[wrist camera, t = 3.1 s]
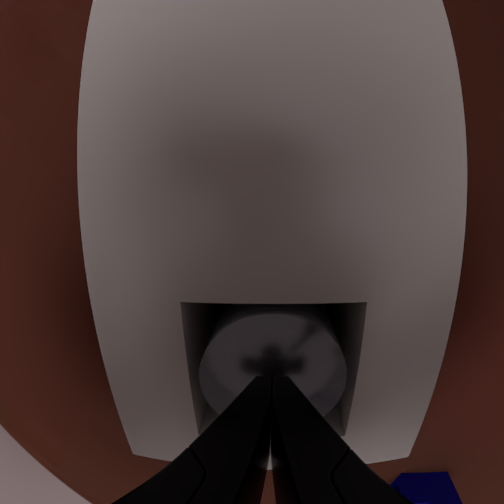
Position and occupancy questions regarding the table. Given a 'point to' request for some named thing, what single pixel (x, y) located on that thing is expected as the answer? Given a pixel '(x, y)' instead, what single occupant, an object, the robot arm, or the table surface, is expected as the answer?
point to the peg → (273, 353)
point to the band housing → (271, 197)
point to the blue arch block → (427, 488)
